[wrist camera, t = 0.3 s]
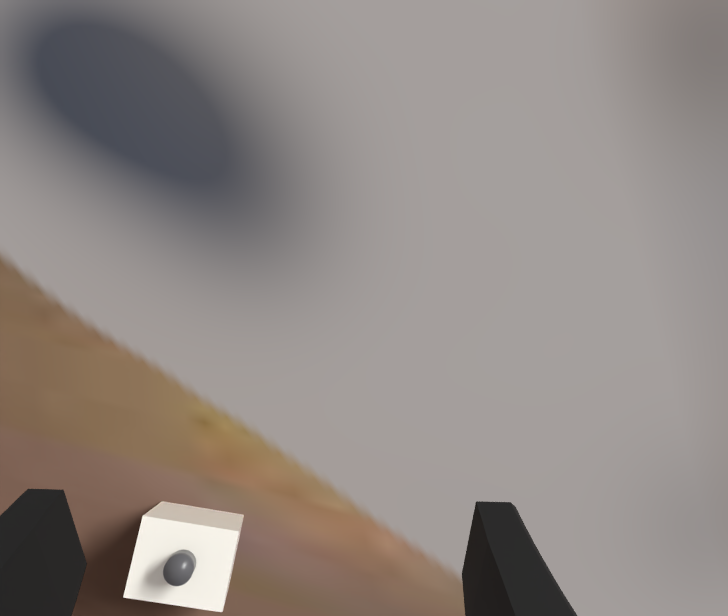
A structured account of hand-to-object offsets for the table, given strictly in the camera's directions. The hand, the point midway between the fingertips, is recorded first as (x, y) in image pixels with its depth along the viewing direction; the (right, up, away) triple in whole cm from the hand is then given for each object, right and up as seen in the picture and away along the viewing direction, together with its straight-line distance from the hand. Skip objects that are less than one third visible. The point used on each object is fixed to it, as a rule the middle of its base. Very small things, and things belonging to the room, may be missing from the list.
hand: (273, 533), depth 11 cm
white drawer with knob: (-9, -10, +27) cm, 30 cm away
